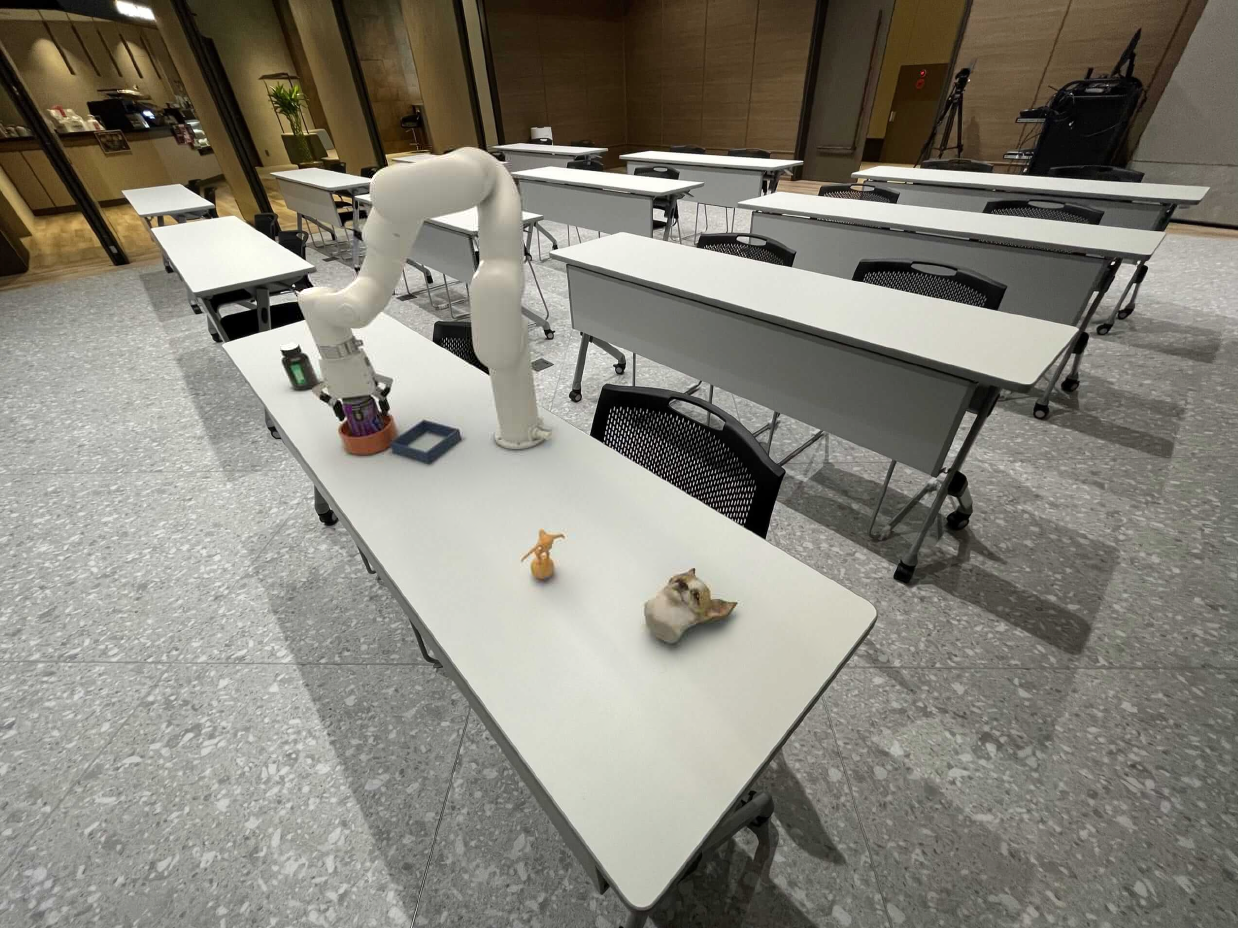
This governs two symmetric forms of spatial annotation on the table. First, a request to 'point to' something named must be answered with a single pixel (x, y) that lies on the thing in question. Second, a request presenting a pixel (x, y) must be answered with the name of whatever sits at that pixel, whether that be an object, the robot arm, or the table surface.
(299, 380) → the supplement bottle
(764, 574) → the table surface
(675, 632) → the ceramic sculpture
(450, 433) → the blue square frame
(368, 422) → the beverage can
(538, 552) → the figurine
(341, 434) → the bowl
